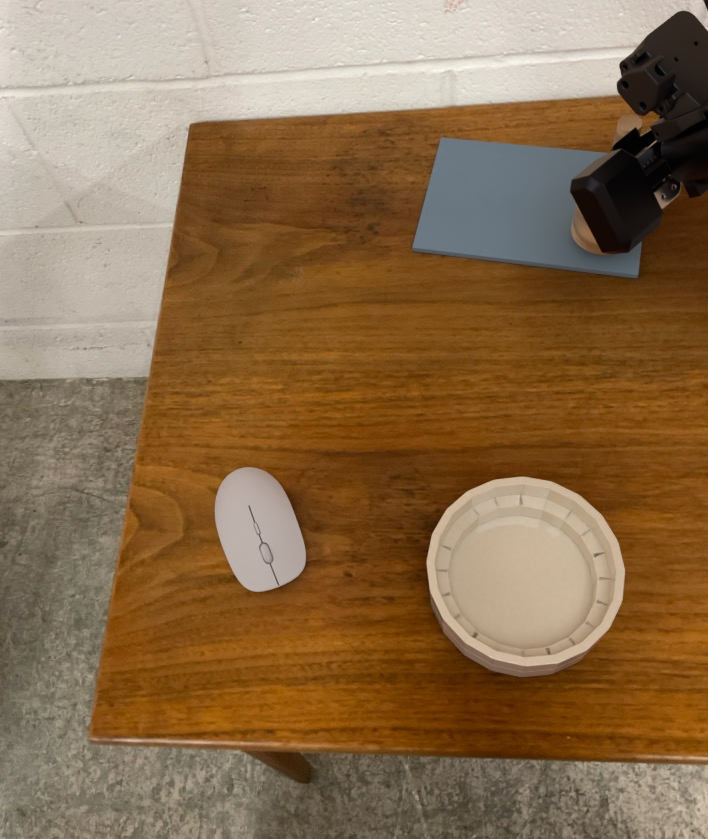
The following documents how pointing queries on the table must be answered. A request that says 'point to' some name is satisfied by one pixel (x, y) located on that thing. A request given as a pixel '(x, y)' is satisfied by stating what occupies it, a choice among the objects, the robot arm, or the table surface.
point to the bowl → (524, 576)
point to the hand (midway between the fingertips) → (604, 167)
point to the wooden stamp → (579, 224)
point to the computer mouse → (258, 530)
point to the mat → (510, 207)
